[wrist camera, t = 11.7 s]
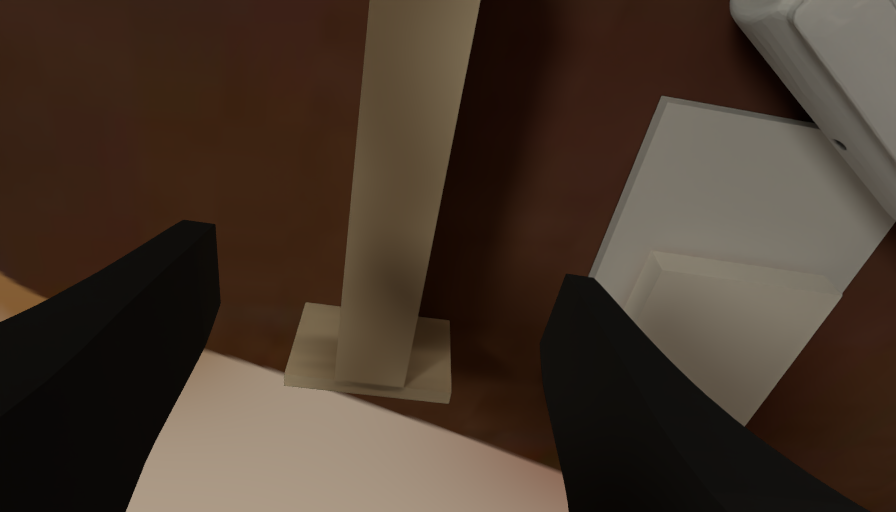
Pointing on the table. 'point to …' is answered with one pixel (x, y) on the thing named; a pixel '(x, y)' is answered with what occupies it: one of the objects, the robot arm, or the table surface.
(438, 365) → the tan wooden slat
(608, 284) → the mat
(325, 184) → the table surface
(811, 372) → the table surface
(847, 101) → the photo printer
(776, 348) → the tile
